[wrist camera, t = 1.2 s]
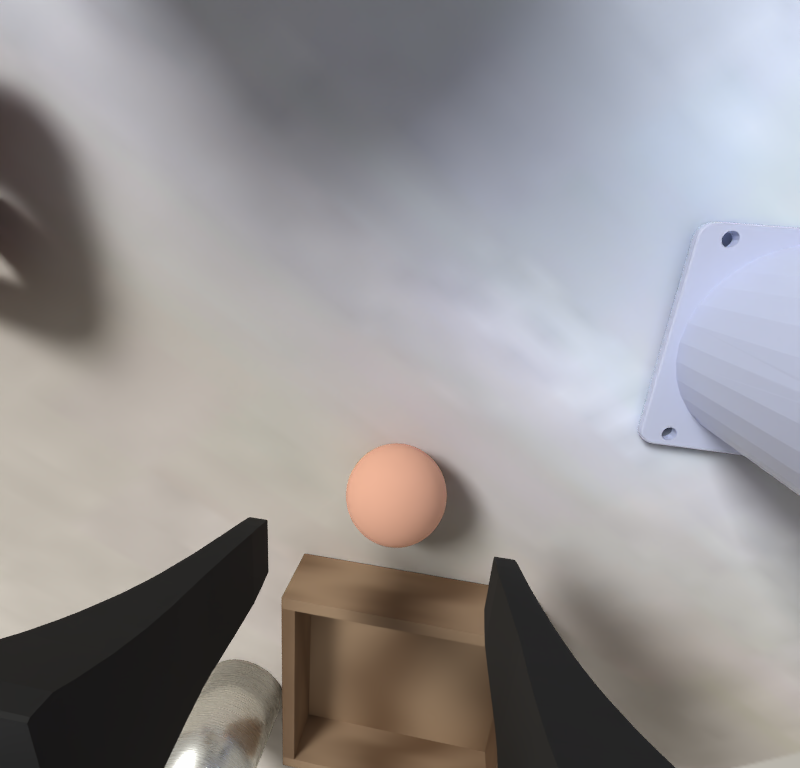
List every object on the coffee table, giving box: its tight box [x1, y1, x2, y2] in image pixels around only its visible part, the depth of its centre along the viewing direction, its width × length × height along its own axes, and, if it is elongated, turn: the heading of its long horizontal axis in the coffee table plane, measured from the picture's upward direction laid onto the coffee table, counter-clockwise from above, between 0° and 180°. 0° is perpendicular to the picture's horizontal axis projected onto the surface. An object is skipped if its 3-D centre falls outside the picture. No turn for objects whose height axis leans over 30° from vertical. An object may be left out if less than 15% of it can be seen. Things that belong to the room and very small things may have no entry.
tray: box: [282, 554, 498, 768], centre depth 21 cm, size 11×11×3 cm
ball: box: [346, 444, 447, 548], centre depth 17 cm, size 4×4×4 cm
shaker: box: [165, 660, 282, 768], centre depth 21 cm, size 5×5×7 cm
